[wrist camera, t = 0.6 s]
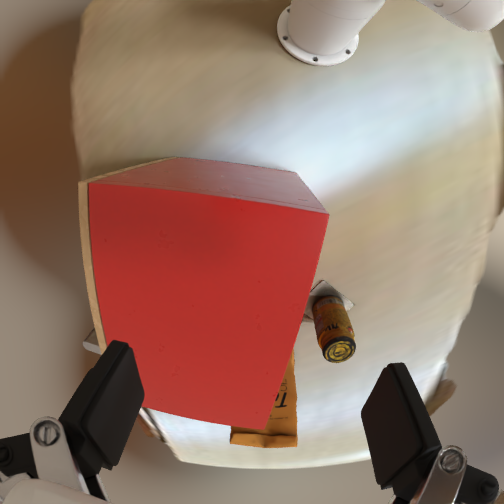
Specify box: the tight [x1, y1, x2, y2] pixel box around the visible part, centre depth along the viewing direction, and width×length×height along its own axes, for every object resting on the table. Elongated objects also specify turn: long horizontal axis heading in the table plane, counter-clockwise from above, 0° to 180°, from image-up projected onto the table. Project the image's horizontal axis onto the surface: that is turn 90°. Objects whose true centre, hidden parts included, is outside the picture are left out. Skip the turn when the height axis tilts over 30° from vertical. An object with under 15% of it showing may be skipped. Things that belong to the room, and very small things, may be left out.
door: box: [78, 157, 179, 355], centre depth 35 cm, size 8×26×24 cm, turn 172°
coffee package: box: [230, 350, 298, 448], centre depth 45 cm, size 10×12×22 cm
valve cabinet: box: [89, 157, 329, 430], centre depth 35 cm, size 18×26×24 cm
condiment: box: [304, 280, 356, 363], centre depth 44 cm, size 7×8×12 cm
